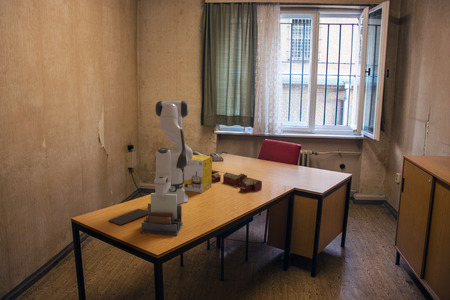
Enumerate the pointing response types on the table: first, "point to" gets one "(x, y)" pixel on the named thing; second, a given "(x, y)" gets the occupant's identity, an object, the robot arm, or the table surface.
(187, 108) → the robot arm
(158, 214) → the block
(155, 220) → the offcut front
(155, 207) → the white thin panel
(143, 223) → the rack
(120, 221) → the smartphone
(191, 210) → the table surface
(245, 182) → the toy houses
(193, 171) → the packaging box
